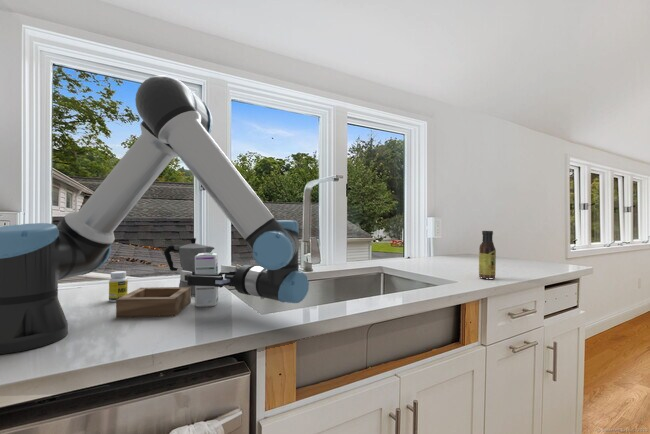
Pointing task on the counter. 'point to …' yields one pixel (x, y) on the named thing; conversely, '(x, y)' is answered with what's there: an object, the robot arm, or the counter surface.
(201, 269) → the syrup box
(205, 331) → the counter surface
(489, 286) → the counter surface
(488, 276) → the sauce bottle
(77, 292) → the counter surface
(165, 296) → the open brown wooden box
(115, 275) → the supplement bottle
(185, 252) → the coffeepot
